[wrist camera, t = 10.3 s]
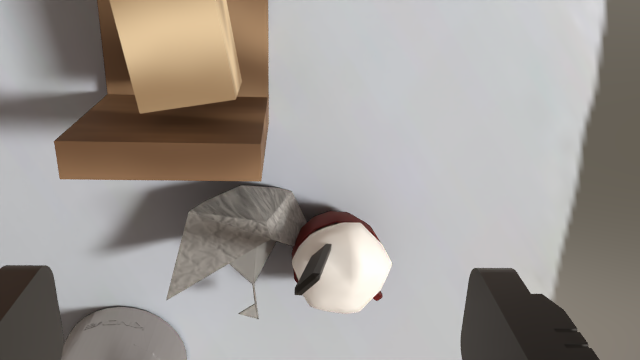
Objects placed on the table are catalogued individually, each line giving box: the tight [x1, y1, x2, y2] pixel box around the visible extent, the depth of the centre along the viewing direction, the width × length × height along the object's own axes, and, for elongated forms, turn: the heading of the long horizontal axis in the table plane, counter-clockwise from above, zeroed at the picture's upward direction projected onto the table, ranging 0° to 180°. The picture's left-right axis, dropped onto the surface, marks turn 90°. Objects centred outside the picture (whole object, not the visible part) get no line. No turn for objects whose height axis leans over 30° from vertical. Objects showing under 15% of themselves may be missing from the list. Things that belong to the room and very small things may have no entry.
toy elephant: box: [166, 185, 307, 319], centre depth 40 cm, size 12×6×9 cm
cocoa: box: [292, 211, 392, 314], centre depth 37 cm, size 10×6×12 cm, turn 19°
